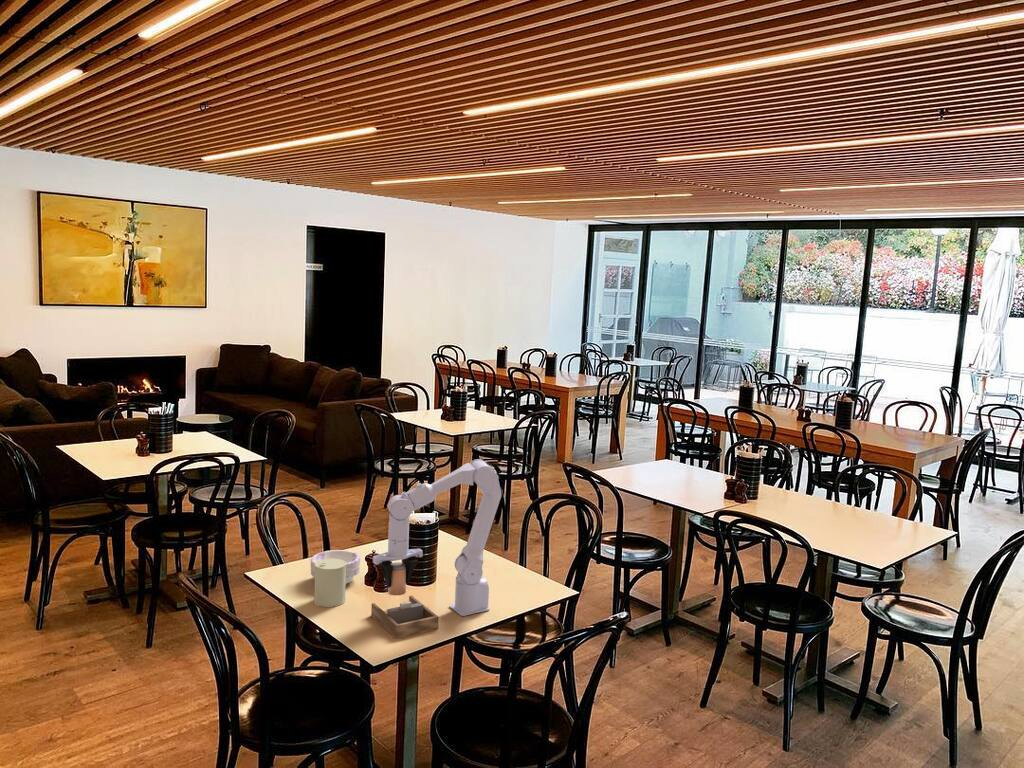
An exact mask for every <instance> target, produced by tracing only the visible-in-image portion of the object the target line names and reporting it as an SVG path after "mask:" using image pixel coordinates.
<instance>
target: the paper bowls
mask: <svg viewBox="0 0 1024 768" xmlns="http://www.w3.org/2000/svg"><path fill="white" fill-rule="evenodd" d="M328 558H336V559H341V560H344V561H345V562H346V578H345V585H348V584H349V583H351V581H353V579H354V577H355V576H357V575H358V574H359V573H360V571H361V557H360V555H359V553H358V552H355V551H352V550H346V549H344V550H343V549H333V550H332V549H331V550H325V551H321V552H318V553H316V554H314V555H312V557H311V558H310V574H311V576H312V577H313V578H315V563H316V562H317V561H319V560H322V559H328Z"/></svg>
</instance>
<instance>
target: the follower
mask: <svg viewBox="0 0 1024 768" xmlns="http://www.w3.org/2000/svg"><path fill="white" fill-rule="evenodd" d="M424 606H425V604H423V603H422V602H420V603H415V604H411V602H410V601H409V600H408V601H404V602H400V603H399V606H397V607H392V608H387V609H386V610H387V615H388V616H390V617H391V618H392V619H393V620H394V621H395V622H396V623H397V624H400V623H405V622H409V621H414V620H419V619H423V607H424Z"/></svg>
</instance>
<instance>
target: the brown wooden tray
mask: <svg viewBox="0 0 1024 768" xmlns="http://www.w3.org/2000/svg"><path fill="white" fill-rule="evenodd" d="M408 601H410V602H411V604H415V603H421V601H420V600H418V599H417V598H415V597H414V596H413V595H409V596H408ZM370 608H371V610H370V611H371V614H370V615H371V616H372V618H374V620H376V621H377V622H378V623H379V622H380V623H381V624H382V625H381V624H380V623H379V624H380V625H381V626H383V628H385V629H386V630H387V631H388V633H390V634H391V635H392V636H393V635H394V636H395V639H400V638H403V637H405V638H406V637H407V636H412V635H413V634H414V635H417V634H422V633H427V632H430V631H434V630H439V617H440V616H438V615H437V614H436V613H435V612H433V611H432V610H431V609H429V607H427V606H425V605H424V607H423V619H419V620H414V621H409V622H405V623H400V624H397V623H396V622H395V621H394V620H393V619H392V618H391V617H390V616H388V615H387V609H386V610H383V609H382V608H380V607H379V606H378V605H377V604H376V602H372V603H371V607H370ZM394 636H393V637H394Z"/></svg>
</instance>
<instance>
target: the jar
mask: <svg viewBox="0 0 1024 768" xmlns="http://www.w3.org/2000/svg"><path fill="white" fill-rule="evenodd" d="M390 563H391V565H392V566H393V570H392V576H391V587H388V586H387V594H389V595H391V596H402V595H405V594H406V593H407V587H406V586H407V584H406V567H405V564H404V563H403V562H397V561H396V562H390Z"/></svg>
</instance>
